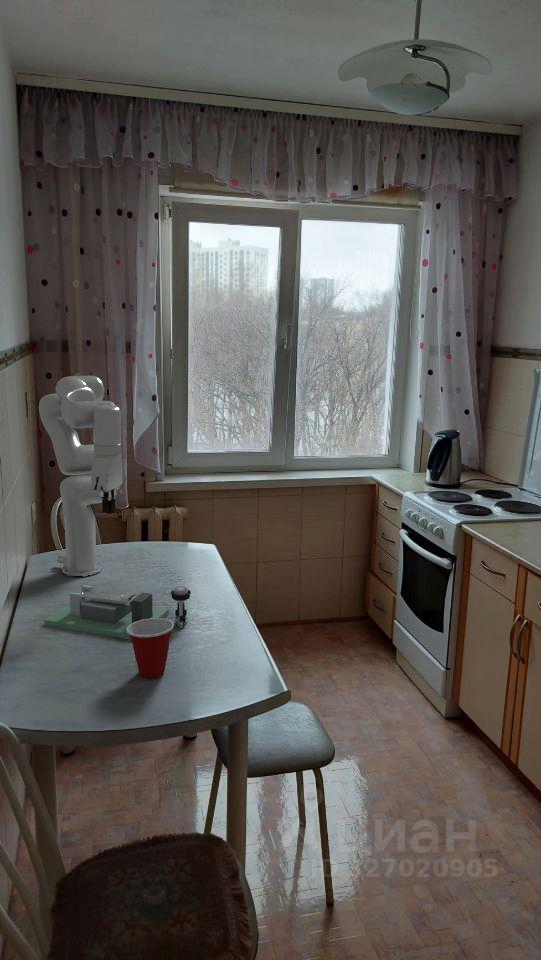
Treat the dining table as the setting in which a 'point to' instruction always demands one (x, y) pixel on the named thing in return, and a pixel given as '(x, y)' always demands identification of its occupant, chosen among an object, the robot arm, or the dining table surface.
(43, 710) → the dining table surface
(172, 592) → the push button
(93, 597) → the retention strap
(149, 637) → the plastic cup
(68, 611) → the board
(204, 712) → the dining table surface
